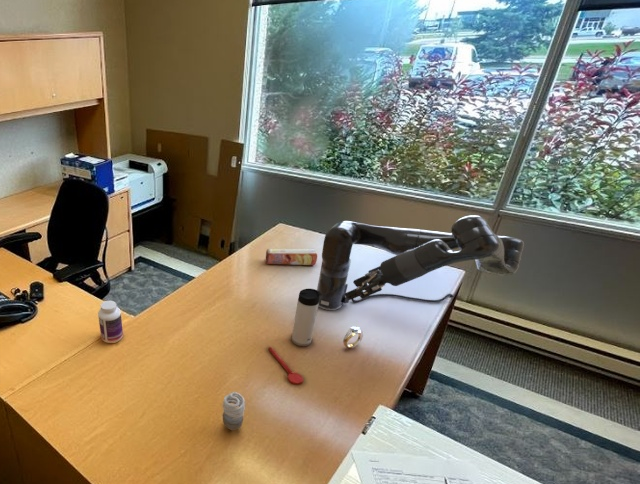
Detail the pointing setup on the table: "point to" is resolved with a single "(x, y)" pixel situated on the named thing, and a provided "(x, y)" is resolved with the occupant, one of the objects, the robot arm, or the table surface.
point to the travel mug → (305, 316)
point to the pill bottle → (110, 322)
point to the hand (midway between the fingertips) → (351, 290)
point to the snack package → (291, 256)
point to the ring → (355, 331)
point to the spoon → (288, 370)
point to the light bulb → (233, 410)
